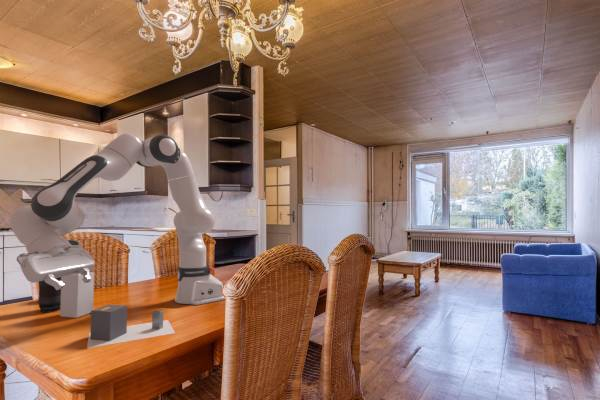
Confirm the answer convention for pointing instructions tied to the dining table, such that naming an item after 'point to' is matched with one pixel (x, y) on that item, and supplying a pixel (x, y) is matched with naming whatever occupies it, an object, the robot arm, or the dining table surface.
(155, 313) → the d shaft
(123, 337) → the workboard
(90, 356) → the dining table surface
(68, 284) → the milk carton
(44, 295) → the camera lens
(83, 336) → the dining table surface
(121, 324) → the block
